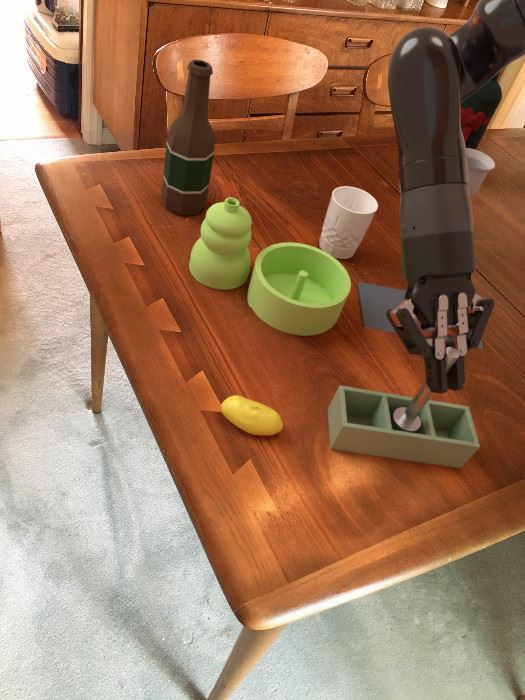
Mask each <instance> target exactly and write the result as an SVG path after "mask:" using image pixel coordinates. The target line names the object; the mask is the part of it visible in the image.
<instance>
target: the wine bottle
mask: <svg viewBox="0 0 525 700" xmlns="http://www.w3.org/2000/svg"><path fill="white" fill-rule="evenodd" d="M502 71H503V69H502V70H501V71H500V72H499V73H498V74H497V75H495V76H494V77H493V78H492V79H491V80H489V81H488V82H487V83H486V84H484V85H483V86H482V87H480V88H479V89H478V90H477V91H475V92H474V93H473V94H472V95H470V96H469V97H468V98H466V99H465V100H463V101H462V102H461V103H460V123H461V130H462V134H463V137H464V141H465V147H466V148H470V149H475V150H477V149H478V147H479V144H480V143H481V141H482V138H483V136H484V134H485V132H486V131H487V128H488V126H489V125H490V124H491V122H492V119H493V118H494V116H495V113H496V112H497V109H498V107H499V106H500V104H501V101H502V99H503V91H502V87H501V84H500V83H499V81H498V79H499V77H500V74H501V72H502Z"/></svg>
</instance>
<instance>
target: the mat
mask: <svg viewBox="0 0 525 700" xmlns="http://www.w3.org/2000/svg"><path fill="white" fill-rule="evenodd" d="M356 285H357V292H358V298H359V306H360V314H361V321H362V322H361V323H362V327H363V328H364V329H371V330H376V331H382V332H387V333H388V332H389V333H393V334H397V333H396V331H395V330H394V328H393V326H392V325H391V323H390V322H389V320H388V318H387V316H386V312H387V310H388V309H394V308H397V307H398V306H399V305H400V304H401V303H402V302H403V301H405V292H406V290H404V289H400V288H399V289H398V288H395V287H387V286H383V285H377V284H374V283H366V282H362V281H357V283H356ZM414 321H415V322H416V324H417V317H416V319H414ZM417 326H418V325H417ZM451 326H452V327H456V325H451ZM430 329H431V330H434V329H435V328H433V327H430ZM471 332H472V331H471ZM470 335H471V333H470ZM453 337H454V336H453ZM469 337H470V336H469ZM454 341H455V340H454ZM476 349H482V350H485V347H484V344H483V341H482V340H481V341H480V343H479V346H478V347H477V348H476Z"/></svg>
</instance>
